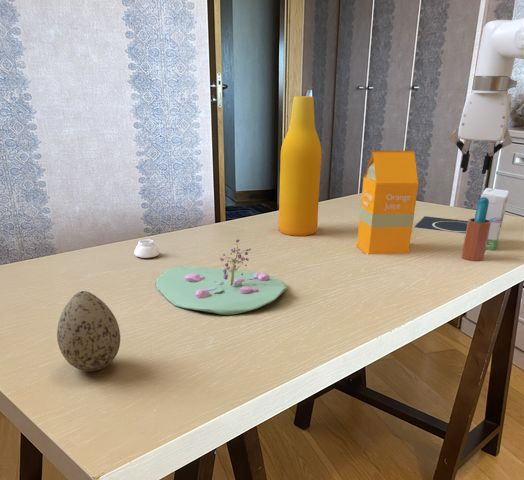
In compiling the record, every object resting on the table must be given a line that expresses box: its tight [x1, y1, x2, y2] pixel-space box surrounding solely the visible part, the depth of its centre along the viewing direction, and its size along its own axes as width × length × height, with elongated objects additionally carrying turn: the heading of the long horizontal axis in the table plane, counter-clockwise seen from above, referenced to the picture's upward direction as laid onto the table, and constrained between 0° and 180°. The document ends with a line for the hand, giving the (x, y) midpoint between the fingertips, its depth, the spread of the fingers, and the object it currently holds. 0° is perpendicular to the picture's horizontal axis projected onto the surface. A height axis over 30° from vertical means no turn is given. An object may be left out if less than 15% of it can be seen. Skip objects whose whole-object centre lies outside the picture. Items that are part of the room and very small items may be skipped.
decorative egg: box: [56, 290, 121, 372], centre depth 63 cm, size 7×7×10 cm
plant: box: [155, 239, 288, 316], centre depth 88 cm, size 25×21×9 cm
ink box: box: [480, 187, 510, 252], centre depth 114 cm, size 8×5×12 cm, turn 154°
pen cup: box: [461, 217, 491, 262], centre depth 105 cm, size 4×4×8 cm
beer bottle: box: [277, 95, 323, 237], centre depth 119 cm, size 9×9×29 cm
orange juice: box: [356, 150, 420, 255], centre depth 108 cm, size 8×9×20 cm
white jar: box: [133, 238, 161, 259], centre depth 106 cm, size 5×3×5 cm
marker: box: [474, 197, 489, 223], centre depth 104 cm, size 2×2×12 cm
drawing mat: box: [414, 215, 468, 235], centre depth 131 cm, size 18×16×1 cm
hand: (474, 171), depth 125 cm, fingers open, 3 cm apart
